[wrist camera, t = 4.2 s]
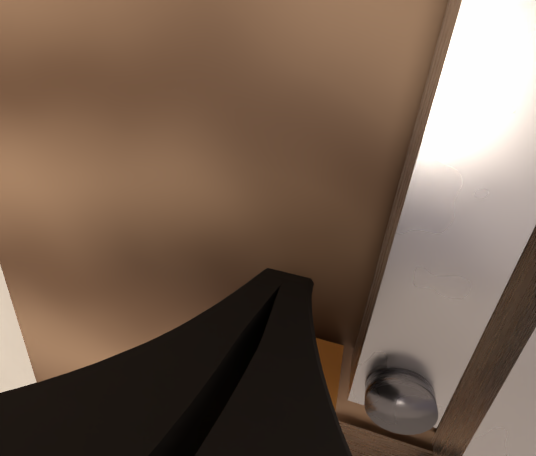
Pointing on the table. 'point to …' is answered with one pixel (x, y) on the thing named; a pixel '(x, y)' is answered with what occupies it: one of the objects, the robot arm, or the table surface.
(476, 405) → the tongs frame
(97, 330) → the walnut board
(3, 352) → the table surface
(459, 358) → the bar
